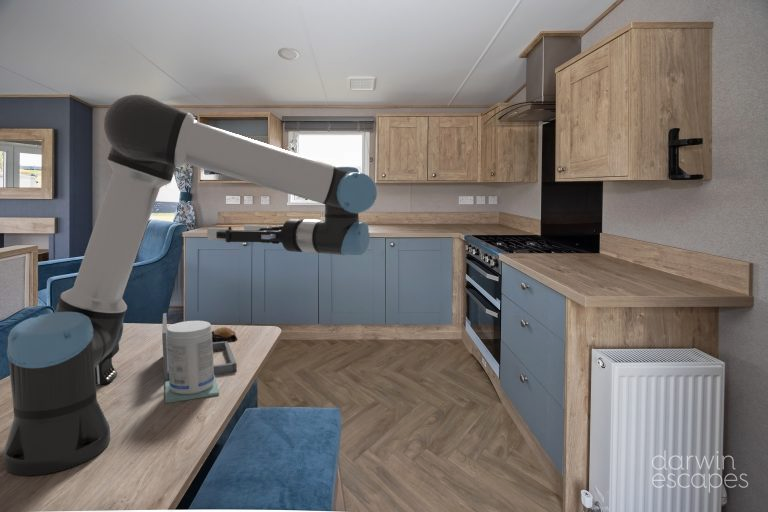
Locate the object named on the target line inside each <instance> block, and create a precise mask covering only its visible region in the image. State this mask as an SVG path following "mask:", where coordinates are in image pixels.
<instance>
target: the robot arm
mask: <svg viewBox="0 0 768 512" xmlns="http://www.w3.org/2000/svg"><path fill="white" fill-rule="evenodd" d="M104 115H105V116H104V118H103V129H104V130H103V131H104V133H105V137H106V138H107V141H108V142H109V143H110V145H111V148H110V151H109V153H108V156H107V159H106V161H107V163H108V165H109V167H110V168H111V171H112V174H111V176H110V179H109V182H108V186H107V187H106V192H105V194H104V197H103V200H102V203H101V206H100V209H99V211H98V214H97V217H96V220H95V223H94V226H93V229H92V231H91V234H90V237H89V240H88V244H87V247H86V248H85V252H84V255H83V259H82V260H81V263H80V267H79V268H78V269H79V270H78V273H77V275H76V278H75V281H74V285H73V287H71V288H70V289H67V290H65V291H63V292H61V294H60V297H59V300H58V302H57V304H56V309H55V311H54V312H48V313H43V314H40V315H38V316H37V317H29V318H27V319H25V320H23V321H21V322H19V323H17V324H16V325H14V327H12V329H11V330H10V331H9V334H8V337H7V348H6V356H7V359H8V367H9V377H10V386H11V388H10V389H11V397H12V406H13V407H12V408H13V421H12V424H11V427H10V430H9V434H8V436H7V439H6V443H5V446H4V450H3V463H4V468H5V470H6V471H7V472H9V473H11V474H14V475H19V476H40V475H46V474H53V473H56V472H61V471H64V470H68V469H70V468H73V467H76V466H78V465H81V464H83V463H84V462H87V461H89V460H91V459H93V458H94V457H96V456H98V455H99V454H101V453H102V452H103V451H104V450H105V449H106V448H107V447H108V446H109V444H110V442H111V427H110V424H109V422H108V420H107V418H106V416H105V414H104V412H103V409H102V408H101V406H100V404H99V402H98V399H97V384H96V381H95V367H96V366H97V365H98V364H99V363H100V362H101V361H102V360H103V359H104V358H105V357H106V356H107V355H108V354H109V353H111V352H112V351H113V350H114V349H115V347H116V346H117V345H118V343H119V344H120V341H121V339H122V336H123V332H124V318H125V315H126V312H127V309H128V305H127V303H126V302H125V300H124V299H123V297H124V293H125V290H126V287H127V284H128V281H129V278H130V276H131V273H132V270H133V267H134V264H135V262H136V259H137V256H138V254H139V253H138V252H139V250H140V247H141V243H142V241H143V238H144V235H145V232H146V229H147V227H148V224H149V221H150V218H151V215H152V212H153V209H154V207H155V204H156V201H157V197H158V194H159V192H160V190H161V188H162V187H165V186H166V185H169V184H170V183H172V180H173V177H174V174H175V171H176V169H177V168H180V167H181V166H183V165H189V166H193V167H197V168H200V169H203V170H207V171H209V172H214V173H217V174H220V175H224V176H227V177H230V178H234V179H237V180H241V181H245V182H248V183H251V184H254V185H258V186H260V187H265V188H268V189H272V190H275V191H279V192H282V193H285V194H289V195H290V196H291V195H292V196H295V197H298V198H302V199H305V200H309V201H313V202H316V203H319V204H323V205H324V220H322V219H295V218H294V219H292V218H290V219H288V220H286V221H285V222H284V224H283V225H274V226H272V225H269V226H268V225H253V224H252V225H251V224H244V225H243V229H232V226H228V228H221V227H220V228H219V227H218V228H217V227H206V230H207V231H206V232H207V234H206V235H207V240H208V241H222V242H223V241H224V242H226V243H261V244H270V243H271V244H274V245H275V244H276V245H277V244H280V243H281V244H282V247H283V248H284V249H285V250H286V251H287V252H294V253H296V252H297V253H298V252H299V253H302V252H303V253H311V254H312V256H317V254H325V255H326V254H327V255H328V254H329V255H338V256H339V255H341V256H361V255H363V254H365V252H366V251H367V250H368V247H369V244H370V238H371V237H370V232H369V231H370V229H369V226H368V225H367V223H365V222H363V221H360V219H359V218H360V217H359V214H360V213H363V212H365V211H367V210H369V209H370V208H371V207H372V206H373V205H374V204H375V202H376V199H377V195H378V192H377V185H376V183H375V181H374V180H373V179H372V177H370V176H369V175H367V174H366V173H363V172H360V171H359V169H358V168H357V167H355V166H344V165H343V166H340V165H339V166H337V165H336V166H334V165H333V164H329V163H326V162H323V161H320V160H318V159H317V160H316V159H314V158H311V157H307V156H304V155H300V154H298V153H295V152H291V151H288V150H285V149H283V148H279V147H276V146H274V145H270V144H267V143H264V142H261V141H258V140H254V139H251V138H250V137H249V138H248V137H245V136H242V135H240V134H236V133H233V132H230V131H227V130H224V129H221V128H218V127H214V126H212V125H208V124H205V123H202V122H199V121H197V120H196V118H195V116H194V115H193V114H192V113H191V112H187V111H186V110H185V111H184V110H181V109H179V108H177V107H174V106H171V105H169V104H166V103H164V102H162V101H159V100H157V99H156V98H154V97H150V96H148V95H143V94H130V95H125V96H122V97H120V98H118V99H117V100H116V101H113V103H112V104H110V105H109V107H108V109H107V111H106V112H105V114H104Z"/></svg>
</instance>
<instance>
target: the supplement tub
mask: <svg viewBox="0 0 768 512" xmlns="http://www.w3.org/2000/svg"><path fill="white" fill-rule="evenodd" d="M212 330H213V329H212V326H211V323H210V322H209V321H205V320H187V321H180V322H176V323H173V324H171V325H168V326H167V352H168V367H169V383H170V389H171V391H173V392H174V393H177V394H195V393H199V392H202V391H204V390H207V389H208V388H210V387H211V386H212V385H213V383H214V375H215V374H214V366H213V365H214V350H213V345H212V332H213V331H212Z"/></svg>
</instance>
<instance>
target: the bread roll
mask: <svg viewBox="0 0 768 512" xmlns="http://www.w3.org/2000/svg"><path fill="white" fill-rule="evenodd" d="M224 341H228V344H229V343H233V342H237V341H238V337H237V334H236V332H235V330H232V329H231V328H229V327H226V326H224V327H219V328H217V329H215V330H213V331H212V343H215V342H224Z"/></svg>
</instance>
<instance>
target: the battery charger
mask: <svg viewBox="0 0 768 512" xmlns="http://www.w3.org/2000/svg"><path fill="white" fill-rule="evenodd" d="M119 350H120V342H119V343H118V345H117V346H116V347H115V349H114V350H113V351H112V352H111V353H109V354H108V355H107V356H106V357H105V358H104V359H103V360H102V361H101V362H100V363H99V364H98V365H97V366H96V367H95V381H96V385H97V386H98V385H99V386H100V385H105V384H110V383H112V381H114V379H115V378H116V377H117V376H118V372H117V370H116V369H115V368H114V366H113V359H112V358H113V357H114V356H115V355H116V354H118V352H120V351H119Z"/></svg>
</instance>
